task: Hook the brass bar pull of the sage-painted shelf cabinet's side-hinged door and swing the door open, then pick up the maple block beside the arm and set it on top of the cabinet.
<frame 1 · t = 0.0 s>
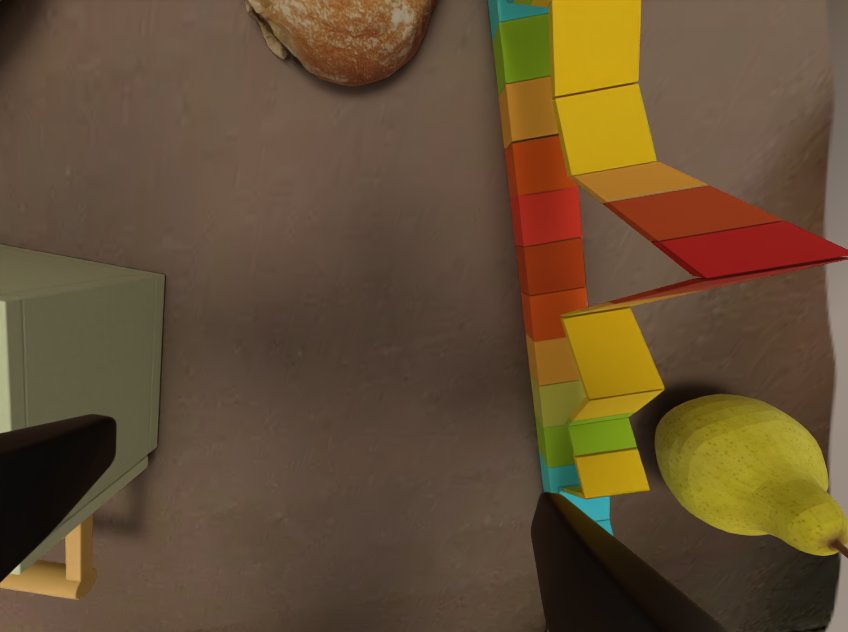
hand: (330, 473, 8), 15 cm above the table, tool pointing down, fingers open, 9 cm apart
fruit: (686, 426, 24), on the table
cabinet: (24, 340, 23), on the table
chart: (547, 285, 22), on the table
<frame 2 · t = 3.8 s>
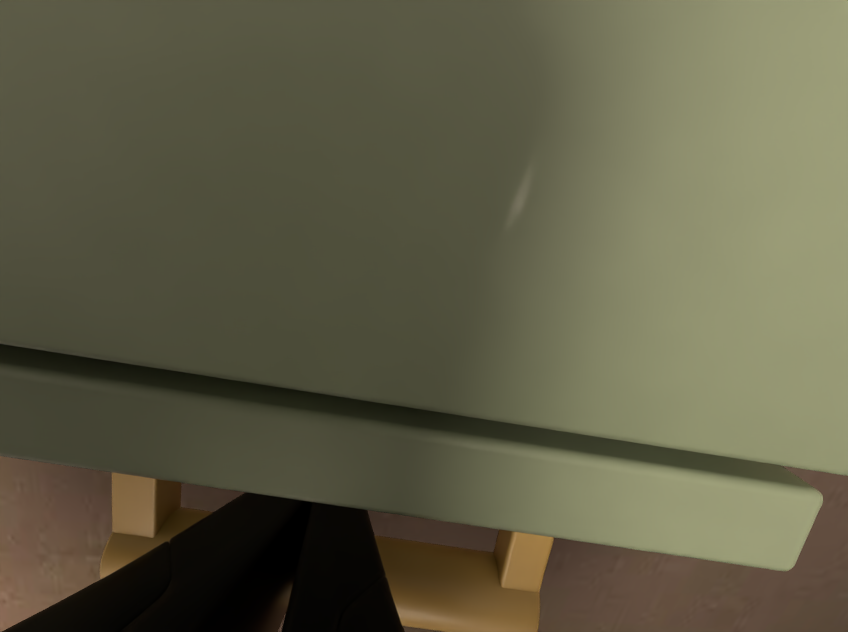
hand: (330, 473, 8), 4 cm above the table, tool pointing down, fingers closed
cabinet door: (156, 433, 7), point 4 cm above the table, hinge at 0.0°, touching gripper
cabinet: (285, 27, 10), on the table
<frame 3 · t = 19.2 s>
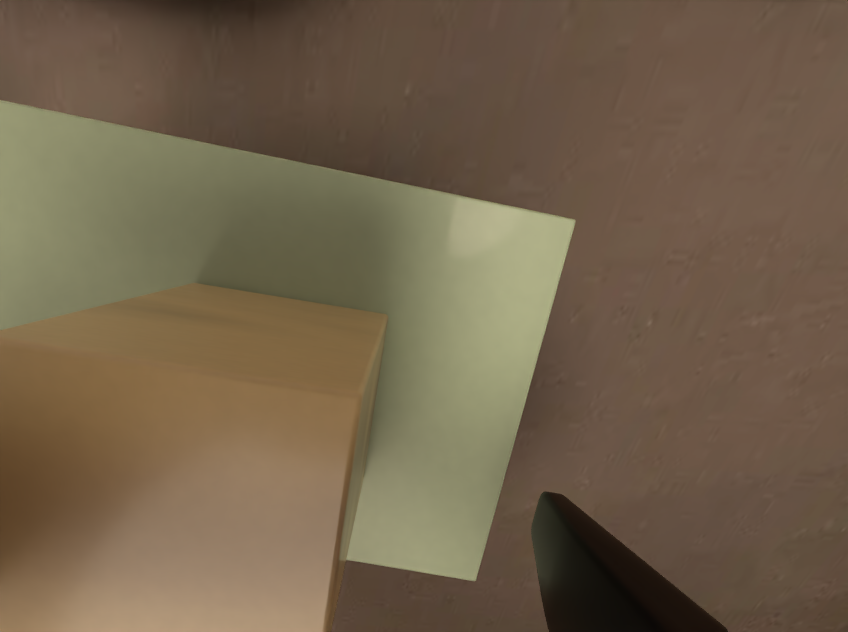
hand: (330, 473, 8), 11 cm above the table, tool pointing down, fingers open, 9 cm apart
block: (283, 388, 10), point 9 cm above the table, touching cabinet
cabinet: (317, 304, 19), on the table
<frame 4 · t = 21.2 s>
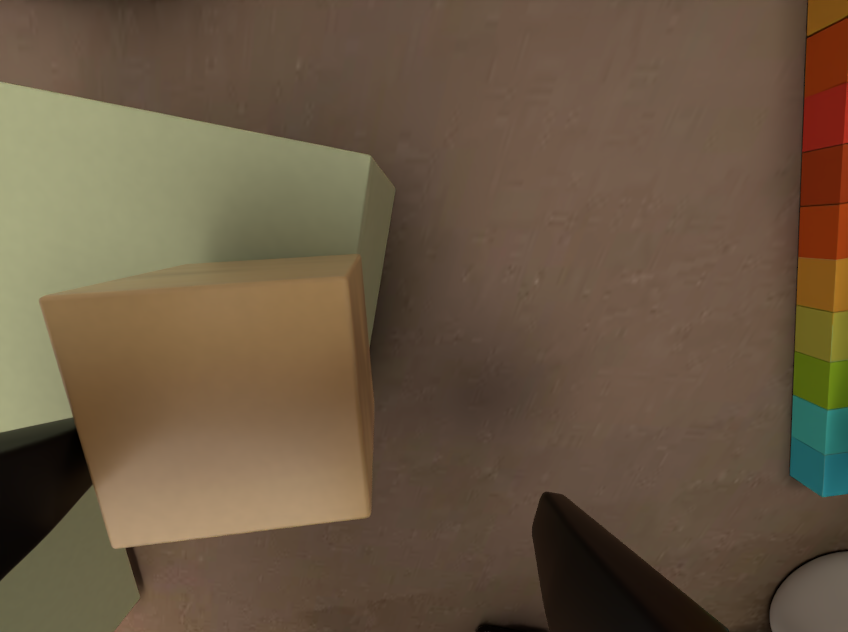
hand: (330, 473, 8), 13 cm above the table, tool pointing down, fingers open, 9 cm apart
mug: (805, 610, 25), on the table
block: (286, 340, 12), point 9 cm above the table, tilted 7°, touching cabinet, gripper
cabinet: (227, 266, 20), on the table
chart: (829, 201, 19), on the table
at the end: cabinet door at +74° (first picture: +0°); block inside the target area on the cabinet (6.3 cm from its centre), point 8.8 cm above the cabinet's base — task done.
